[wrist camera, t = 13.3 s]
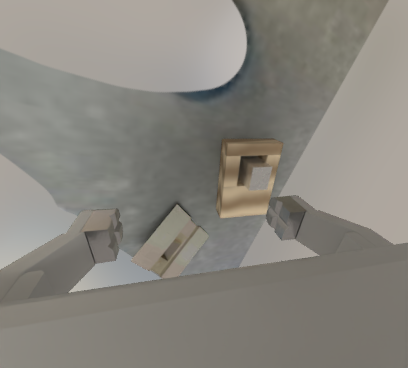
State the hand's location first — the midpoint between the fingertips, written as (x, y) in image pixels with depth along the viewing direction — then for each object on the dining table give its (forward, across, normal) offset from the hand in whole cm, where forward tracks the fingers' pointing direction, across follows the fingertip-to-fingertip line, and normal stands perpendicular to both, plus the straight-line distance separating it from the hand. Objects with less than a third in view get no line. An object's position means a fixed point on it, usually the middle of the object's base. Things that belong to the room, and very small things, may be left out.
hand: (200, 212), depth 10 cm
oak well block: (+29, -16, +12) cm, 35 cm away
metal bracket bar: (+29, -16, +9) cm, 34 cm away
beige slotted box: (+30, +1, +28) cm, 40 cm away
